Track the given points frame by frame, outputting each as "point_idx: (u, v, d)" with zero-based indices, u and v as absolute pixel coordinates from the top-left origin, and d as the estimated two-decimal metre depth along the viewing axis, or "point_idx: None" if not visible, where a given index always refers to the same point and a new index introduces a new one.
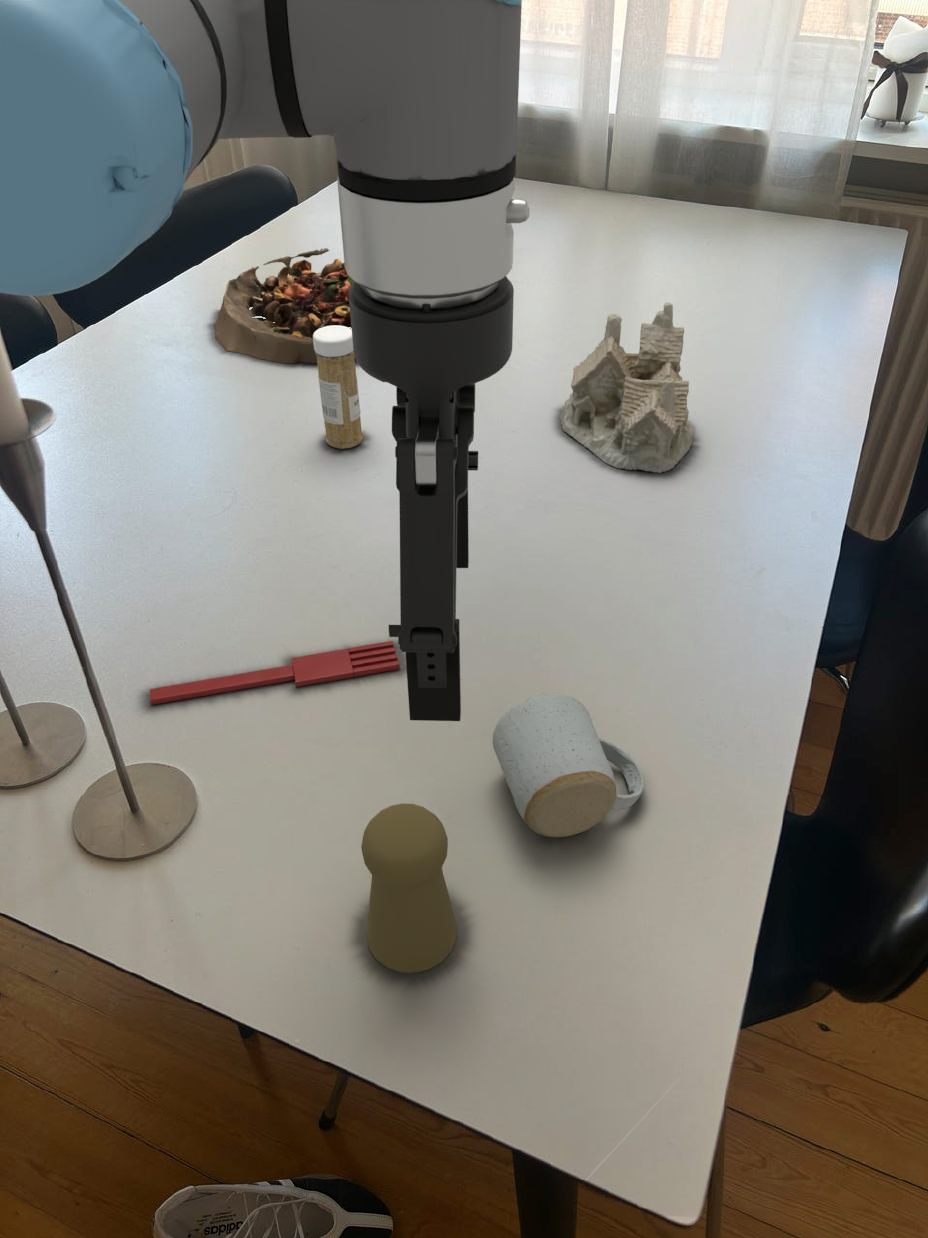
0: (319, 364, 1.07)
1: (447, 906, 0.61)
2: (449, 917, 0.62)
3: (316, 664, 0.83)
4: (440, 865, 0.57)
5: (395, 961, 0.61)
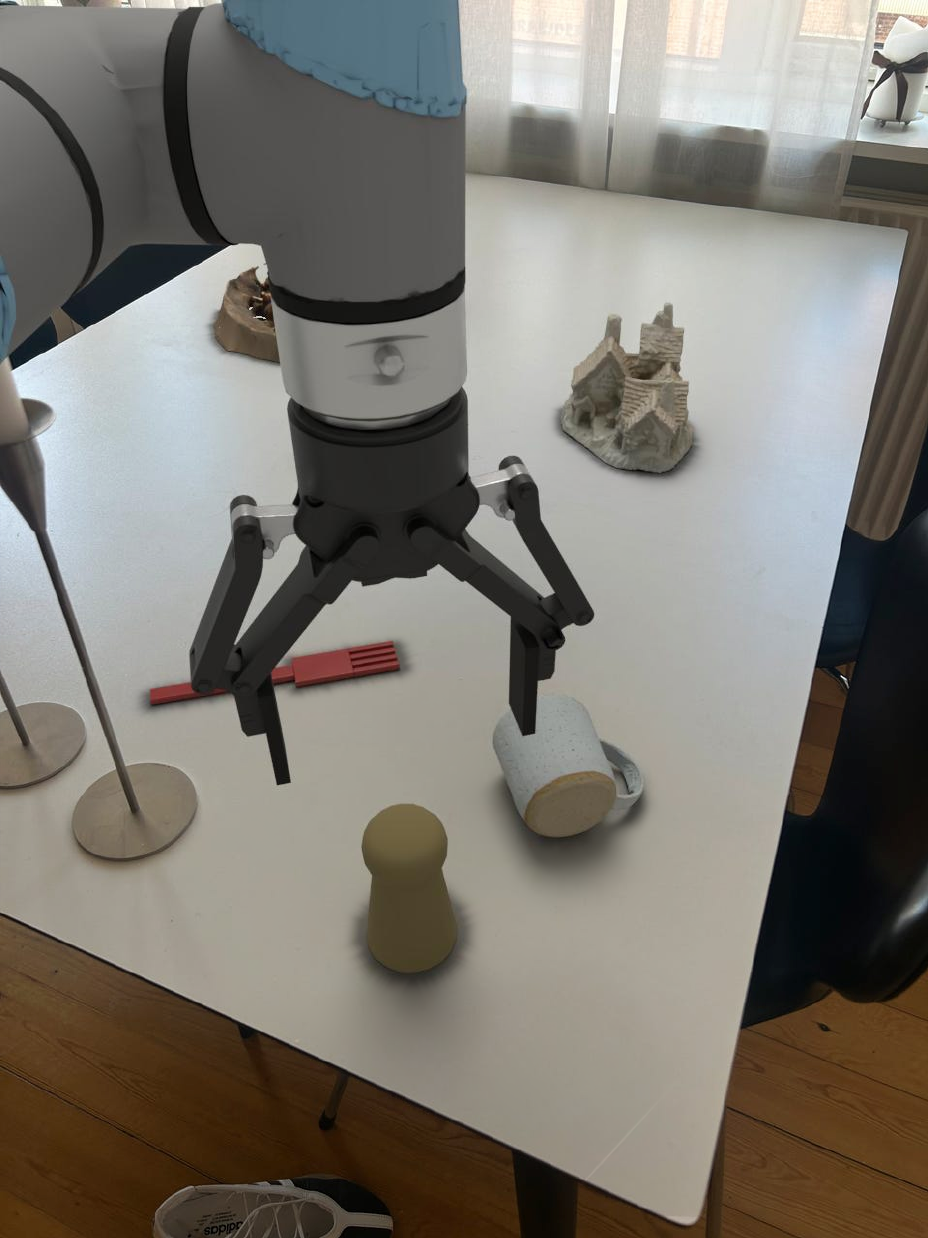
0: None
1: (447, 906, 0.61)
2: (449, 917, 0.62)
3: (316, 664, 0.83)
4: (440, 865, 0.57)
5: (395, 961, 0.61)
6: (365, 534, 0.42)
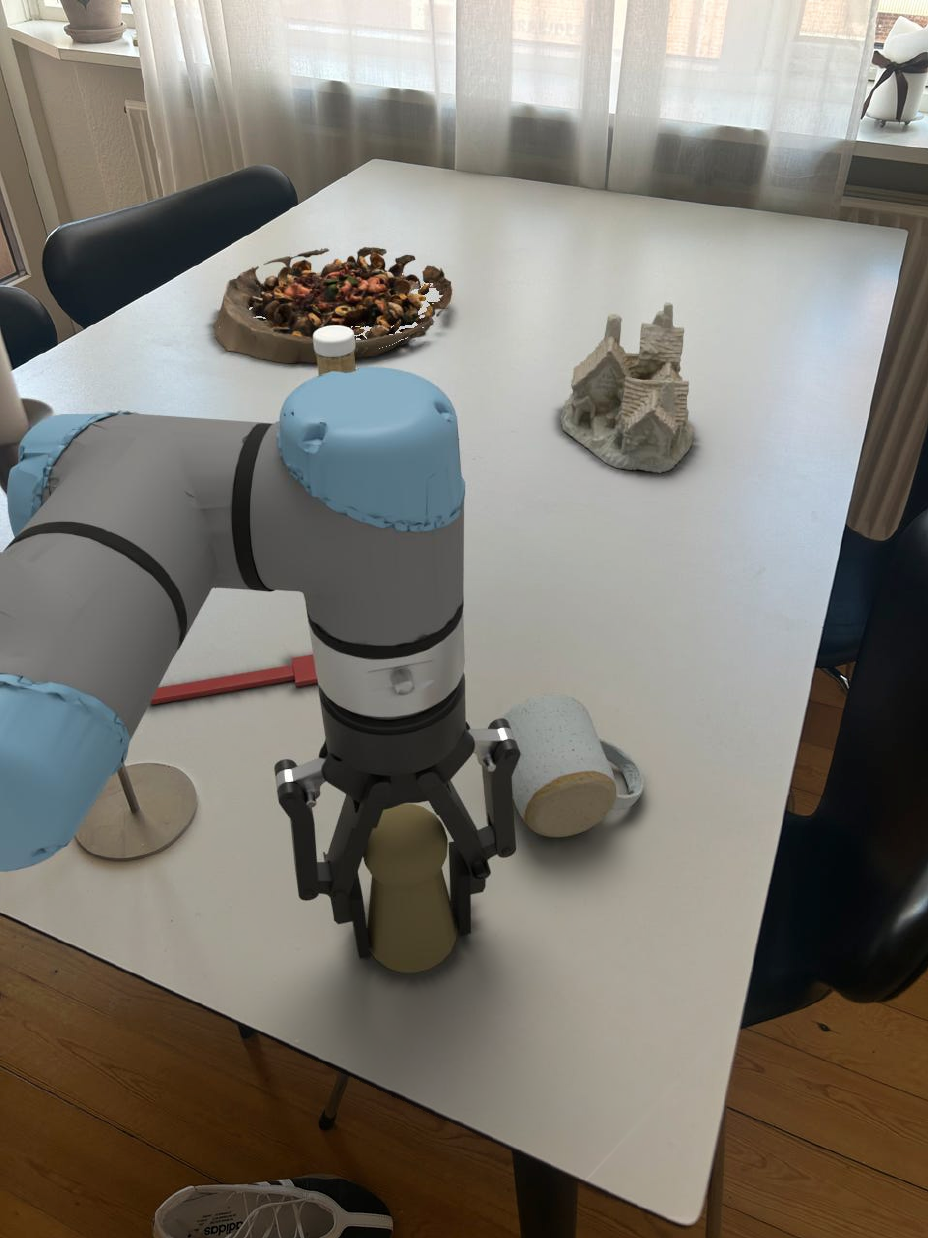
0: (319, 364, 1.07)
1: (447, 906, 0.61)
2: (449, 917, 0.62)
3: None
4: (440, 865, 0.57)
5: (395, 961, 0.61)
6: (376, 781, 0.51)
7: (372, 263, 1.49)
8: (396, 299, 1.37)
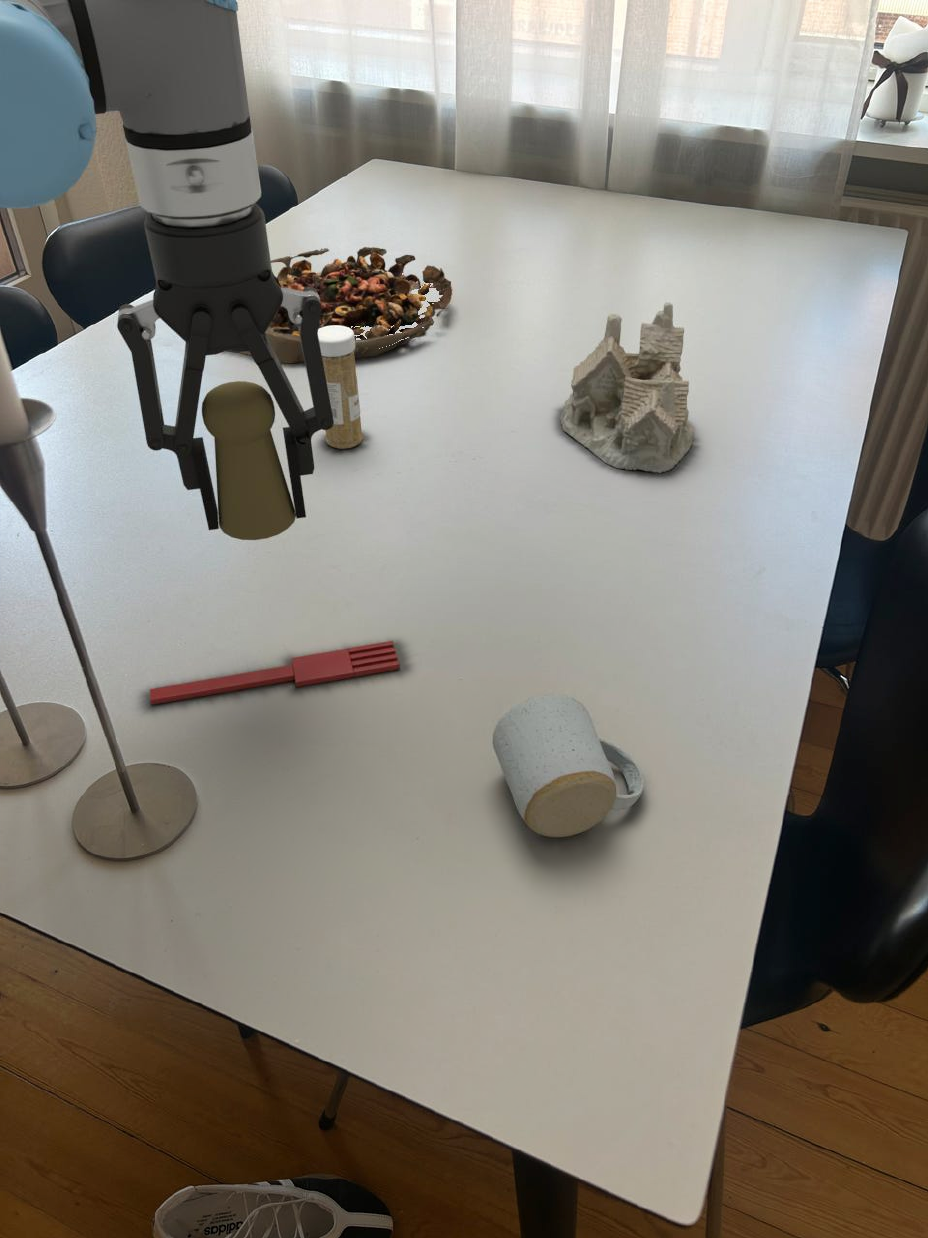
0: None
1: (281, 481, 0.73)
2: (284, 494, 0.74)
3: (316, 664, 0.83)
4: (265, 422, 0.69)
5: (237, 528, 0.73)
6: (197, 311, 0.63)
7: (372, 263, 1.49)
8: (396, 299, 1.37)
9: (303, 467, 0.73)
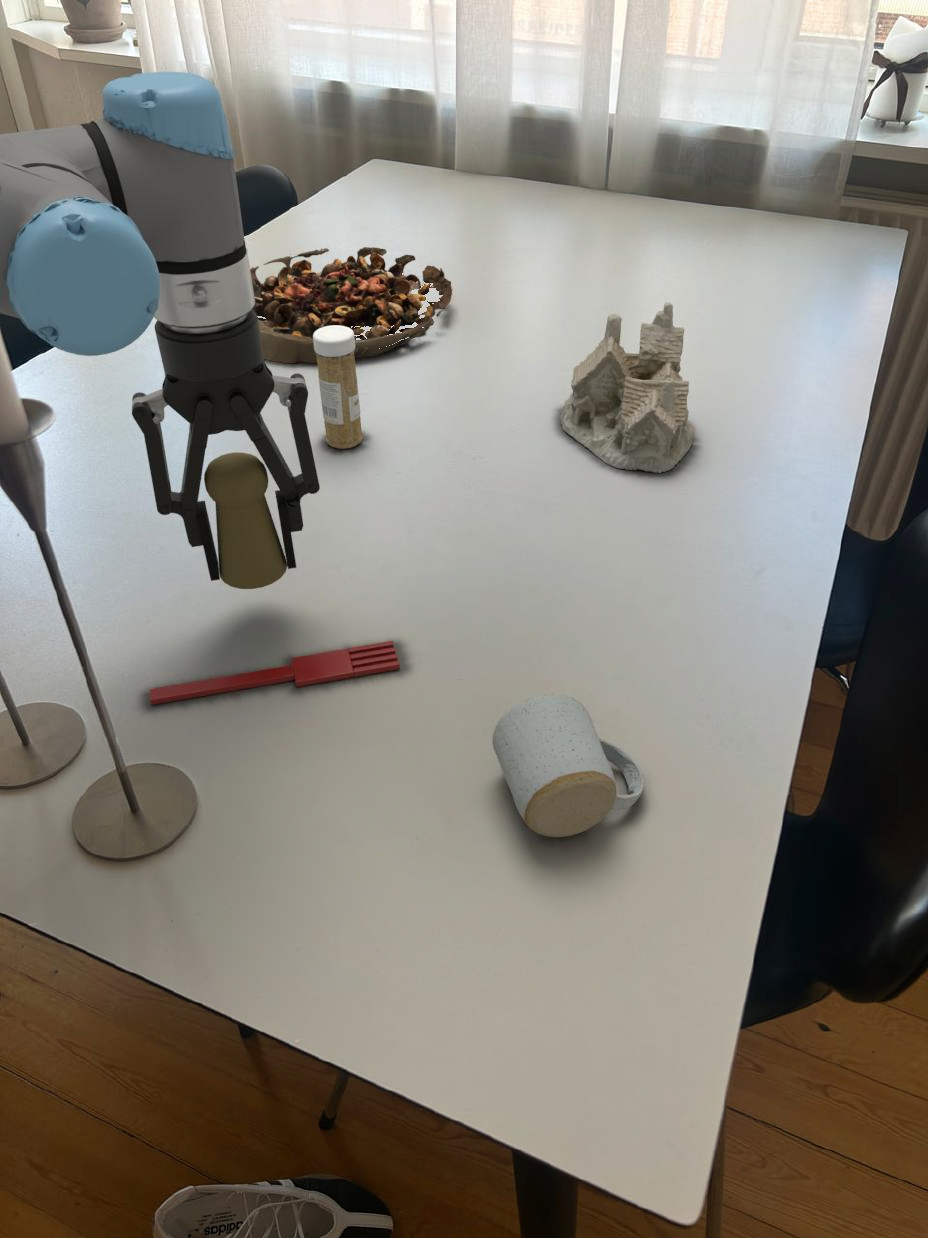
0: (319, 364, 1.07)
1: (274, 537, 0.83)
2: (277, 548, 0.84)
3: (316, 664, 0.83)
4: (259, 489, 0.79)
5: (236, 579, 0.84)
6: (200, 400, 0.73)
7: (372, 263, 1.49)
8: (396, 299, 1.37)
9: (293, 525, 0.84)
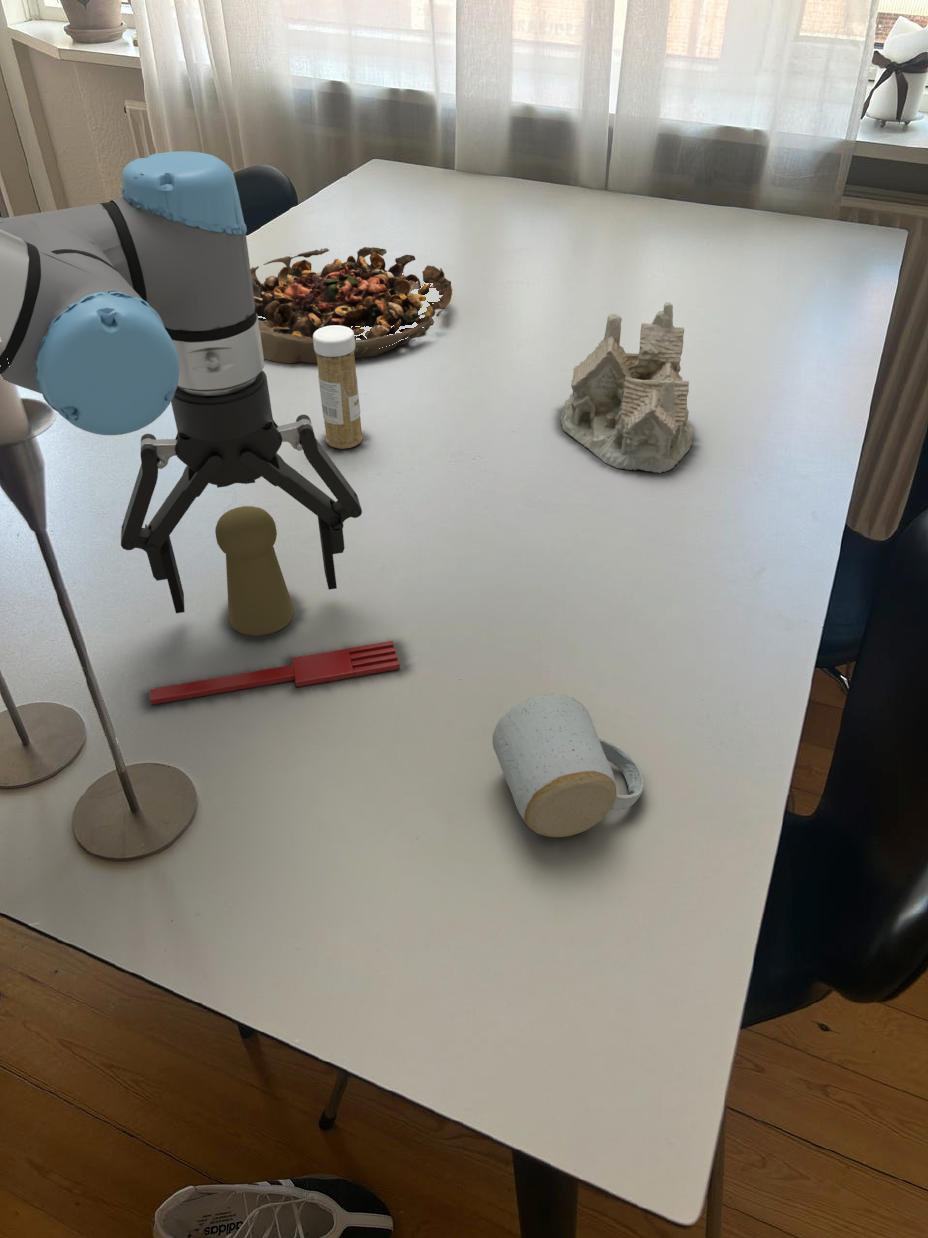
0: (319, 364, 1.07)
1: (281, 586, 0.87)
2: (284, 596, 0.87)
3: (316, 664, 0.83)
4: (268, 542, 0.83)
5: (245, 626, 0.87)
6: (214, 455, 0.76)
7: (372, 263, 1.49)
8: (396, 299, 1.37)
9: (335, 547, 0.86)
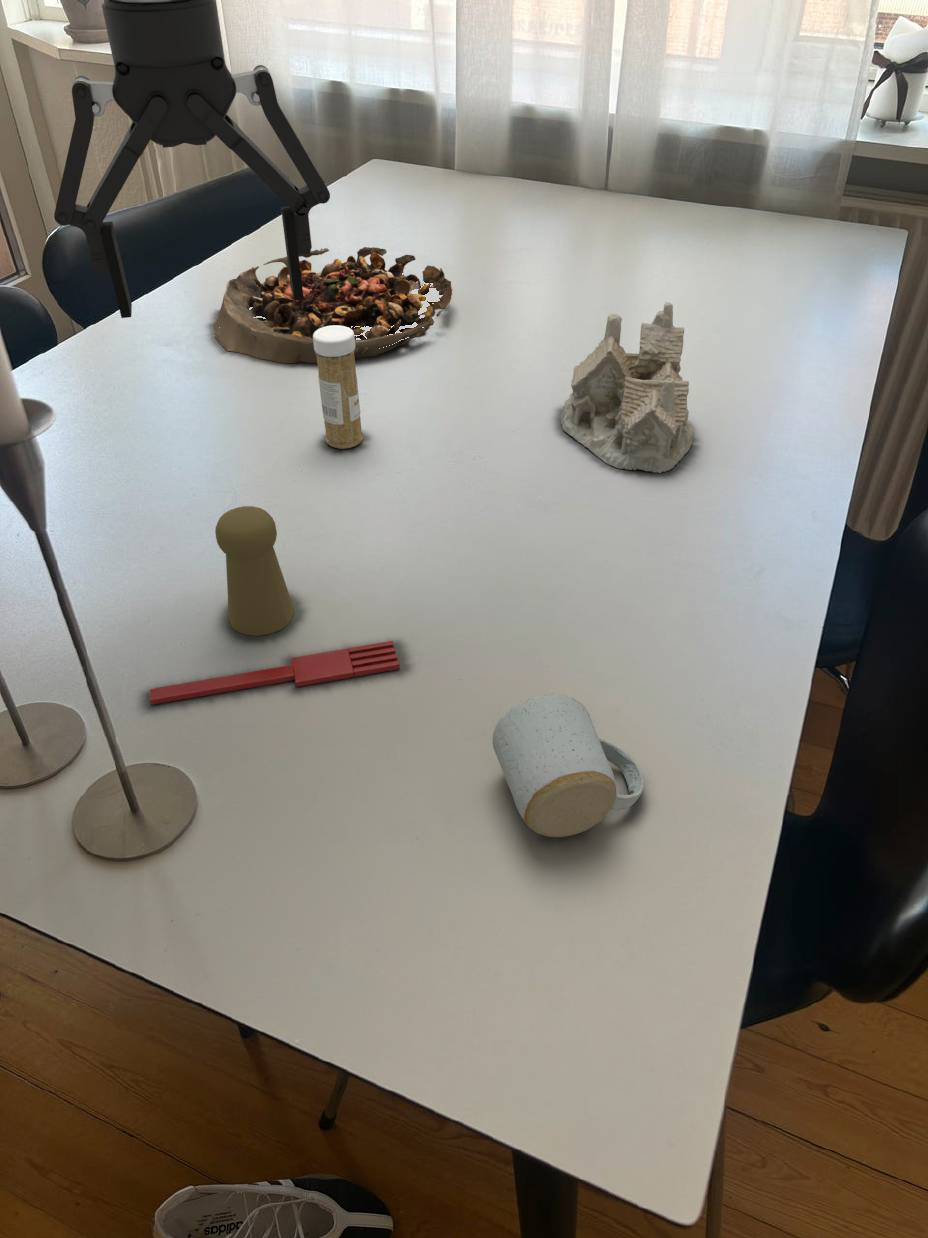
0: (319, 364, 1.07)
1: (281, 586, 0.87)
2: (284, 596, 0.87)
3: (316, 664, 0.83)
4: (268, 542, 0.83)
5: (245, 626, 0.87)
6: (157, 96, 0.67)
7: (372, 263, 1.49)
8: (396, 299, 1.37)
9: (301, 245, 0.76)
